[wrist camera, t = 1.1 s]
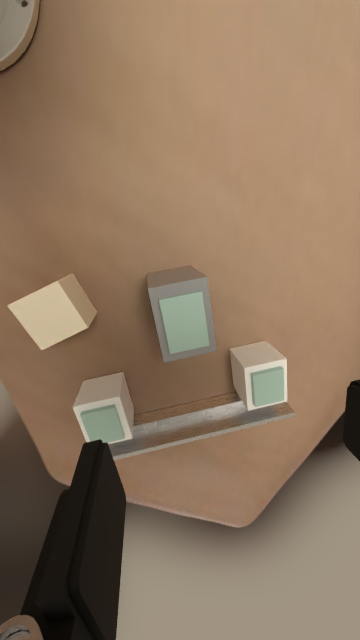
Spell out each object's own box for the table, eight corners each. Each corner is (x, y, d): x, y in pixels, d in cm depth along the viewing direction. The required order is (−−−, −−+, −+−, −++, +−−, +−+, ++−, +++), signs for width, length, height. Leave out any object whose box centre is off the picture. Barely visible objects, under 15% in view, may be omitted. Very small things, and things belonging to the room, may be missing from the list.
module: (146, 273, 27) (147, 289, 19) (190, 265, 27) (208, 278, 20) (158, 330, 30) (164, 365, 22) (198, 322, 30) (218, 353, 22)
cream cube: (31, 293, 26) (7, 305, 21) (72, 272, 26) (57, 280, 21) (58, 331, 28) (41, 350, 23) (97, 312, 28) (88, 327, 23)
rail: (91, 425, 33) (83, 457, 28) (274, 382, 35) (294, 405, 30) (96, 436, 33) (88, 469, 29) (274, 394, 35) (294, 418, 31)
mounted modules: (83, 380, 30) (70, 410, 25) (265, 340, 32) (289, 361, 27) (97, 417, 32) (88, 453, 27) (267, 378, 34) (289, 404, 29)
